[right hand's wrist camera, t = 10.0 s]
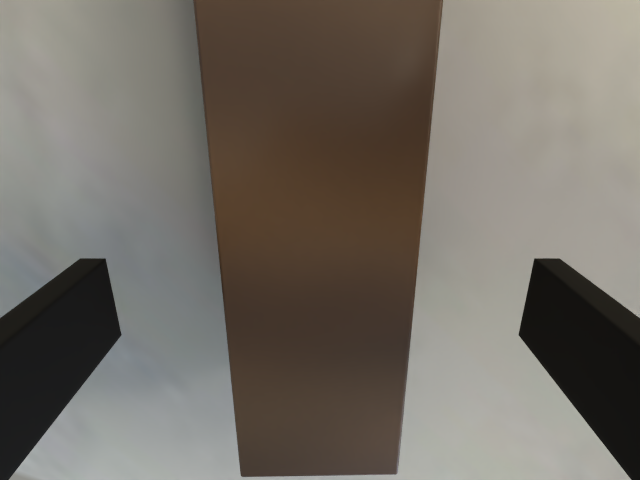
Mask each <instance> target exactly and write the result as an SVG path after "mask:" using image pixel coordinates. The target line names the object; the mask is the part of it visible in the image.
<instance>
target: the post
mask: <svg viewBox="0 0 640 480" xmlns="http://www.w3.org/2000/svg"><path fill="white" fill-rule="evenodd" d="M193 2H194V12H195V22H196V32H197V42H198V52H199V62H200V72H201V82H202V92H203V102H204V112H205V122H206V132H207V142H208V152H209V162H210V172H211V182H212V192H213V202H214V212H215V222H216V232H217V242H218V252H219V262H220V272H221V282H222V292H223V302H224V312H225V322H226V332H227V342H228V352H229V362H230V372H231V382H232V392H233V402H234V412H235V422H236V432H237V442H238V453H239V463H240V473H241V476H242V477H265V476H331V475H396V474H397V473H398V464H399V453H400V443H401V432H402V422H403V412H404V401H405V391H406V380H407V370H408V360H409V349H410V339H411V328H412V318H413V308H414V297H415V287H416V276H417V266H418V256H419V245H420V235H421V224H422V214H423V204H424V193H425V183H426V172H427V162H428V152H429V141H430V131H431V120H432V110H433V100H434V89H435V79H436V68H437V58H438V48H439V37H440V27H441V16H442V6H443V0H193Z"/></svg>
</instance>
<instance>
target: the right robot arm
mask: <svg viewBox="0 0 640 480" xmlns="http://www.w3.org/2000/svg"><path fill="white" fill-rule="evenodd" d="M120 336H121V331H120V326H119V321H118V316H117V312H116V307H115V302H114V297H113V292H112V287H111V283H110V278H109V273H108V268H107V263H106V259H79V260H78V261H77V262H75V263H74V264H73V265H71V266H70V267H68V268H67V269H66V270H64V271H63V272H62V273H60V274H59V275H58V276H56V277H55V278H54V279H52V280H51V281H50V282H48V283H47V284H46V285H44V286H43V287H42V288H40V289H39V290H38V291H36V292H35V293H34V294H32V295H31V296H30V297H28V298H27V299H26V300H24V301H23V302H21V303H20V304H19V305H17V306H16V307H15V308H13V309H12V310H11V311H9V312H8V313H7V314H5V315H4V316H3V317H1V318H0V480H9V478H10V477H11V476H12V475H13V473H14V472H15V471H16V469H17V468H18V467H19V466H20V464H21V463H22V462H23V461H24V459H25V458H26V457H27V455H28V454H29V453H30V452H31V450H32V449H33V448H34V446H35V445H36V444H37V443H38V441H39V440H40V439H41V437H42V436H43V435H44V434H45V432H46V431H47V430H48V428H49V427H50V426H51V425H52V423H53V422H54V421H55V419H56V418H57V417H58V416H59V414H60V413H61V412H62V410H63V409H64V408H65V407H66V405H67V404H68V403H69V402H70V400H71V399H72V398H73V396H74V395H75V394H76V393H77V391H78V390H79V389H80V387H81V386H82V385H83V384H84V382H85V381H86V380H87V378H88V377H89V376H90V375H91V373H92V372H93V371H94V369H95V368H96V367H97V366H98V364H99V363H100V362H101V360H102V359H103V358H104V357H105V355H106V354H107V353H108V351H109V350H110V349H111V348H112V346H113V345H114V344H115V342H116V341H117V340H118V339H119V337H120ZM519 336H520V337H521V339H522V340H523V341H524V342H525V344H526V345H527V346H528V348H529V349H530V350H531V351H532V353H533V354H534V355H535V357H536V358H537V359H538V360H539V362H540V363H541V364H542V366H543V367H544V368H545V369H546V371H547V372H548V373H549V375H550V376H551V377H552V378H553V380H554V381H555V382H556V384H557V385H558V386H559V387H560V389H561V390H562V391H563V393H564V394H565V395H566V396H567V398H568V399H569V400H570V402H571V403H572V404H573V405H574V407H575V408H576V409H577V410H578V412H579V413H580V414H581V416H582V417H583V418H584V419H585V421H586V422H587V423H588V425H589V426H590V427H591V428H592V430H593V431H594V432H595V434H596V435H597V436H598V437H599V439H600V440H601V441H602V443H603V444H604V445H605V446H606V448H607V449H608V450H609V452H610V453H611V454H612V455H613V457H614V458H615V459H616V461H617V462H618V463H619V464H620V466H621V467H622V468H623V469H624V471H625V472H626V473H627V475H628V476H629V477H630V478H631V480H640V318H639V317H637V316H636V315H635V314H633V313H632V312H631V311H629V310H628V309H627V308H625V307H624V306H623V305H621V304H620V303H619V302H617V301H616V300H614V299H613V298H612V297H610V296H609V295H608V294H606V293H605V292H604V291H602V290H601V289H600V288H598V287H597V286H596V285H594V284H593V283H592V282H590V281H589V280H588V279H586V278H585V277H584V276H582V275H581V274H580V273H578V272H577V271H576V270H574V269H573V268H572V267H570V266H569V265H567V264H566V263H565V262H563V261H562V260H561V259H534V263H533V268H532V273H531V278H530V283H529V287H528V292H527V297H526V302H525V307H524V312H523V316H522V321H521V326H520V331H519Z"/></svg>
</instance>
